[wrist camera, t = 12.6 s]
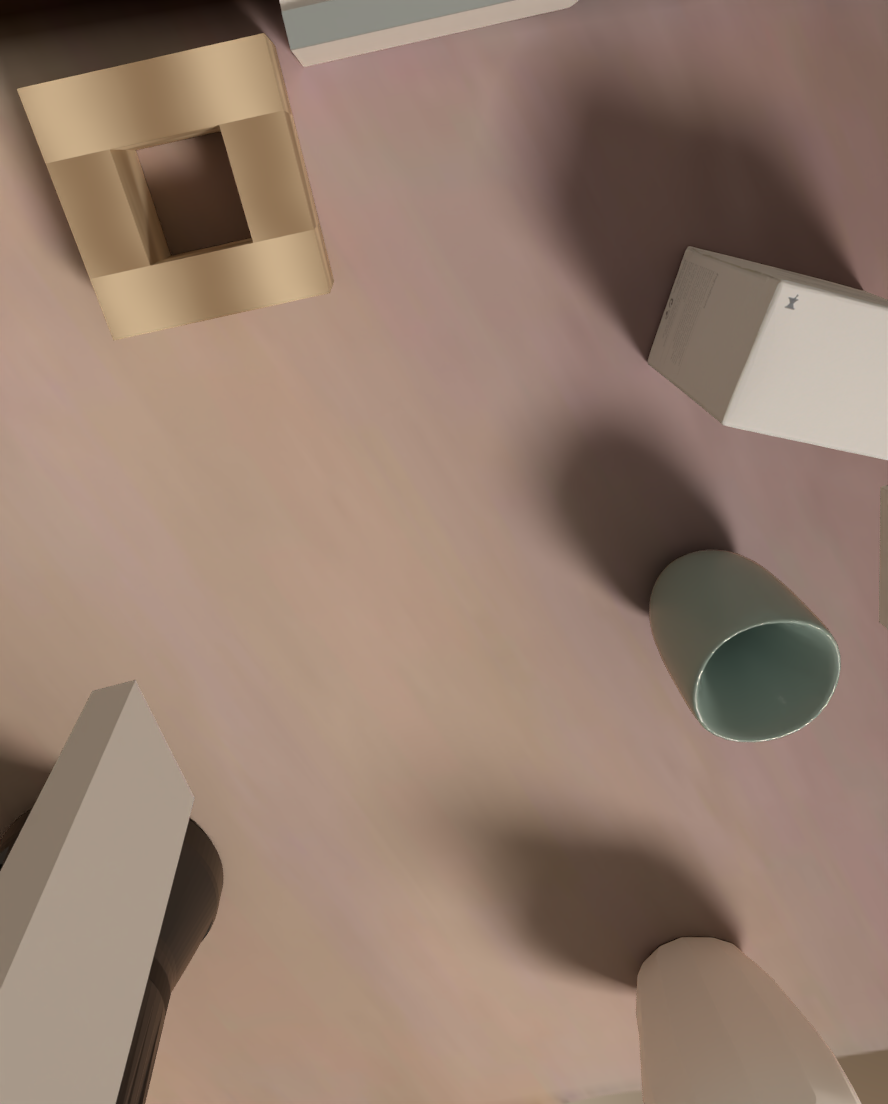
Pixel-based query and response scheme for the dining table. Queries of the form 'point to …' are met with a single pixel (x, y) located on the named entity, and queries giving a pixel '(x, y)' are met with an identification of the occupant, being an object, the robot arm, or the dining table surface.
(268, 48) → the mount
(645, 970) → the vase
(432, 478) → the dining table surface
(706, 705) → the cup
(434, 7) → the socket
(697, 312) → the skincare box
